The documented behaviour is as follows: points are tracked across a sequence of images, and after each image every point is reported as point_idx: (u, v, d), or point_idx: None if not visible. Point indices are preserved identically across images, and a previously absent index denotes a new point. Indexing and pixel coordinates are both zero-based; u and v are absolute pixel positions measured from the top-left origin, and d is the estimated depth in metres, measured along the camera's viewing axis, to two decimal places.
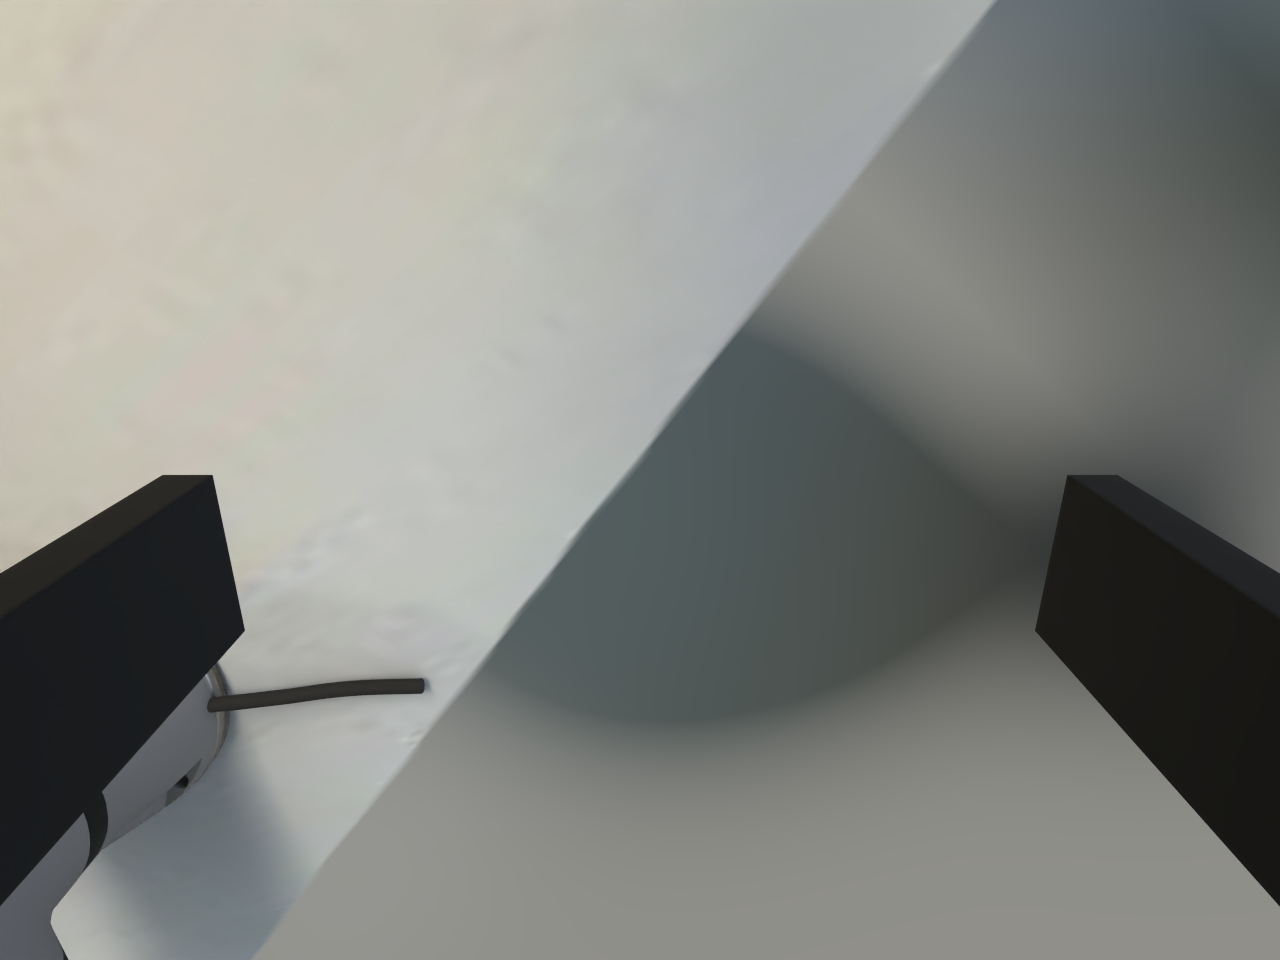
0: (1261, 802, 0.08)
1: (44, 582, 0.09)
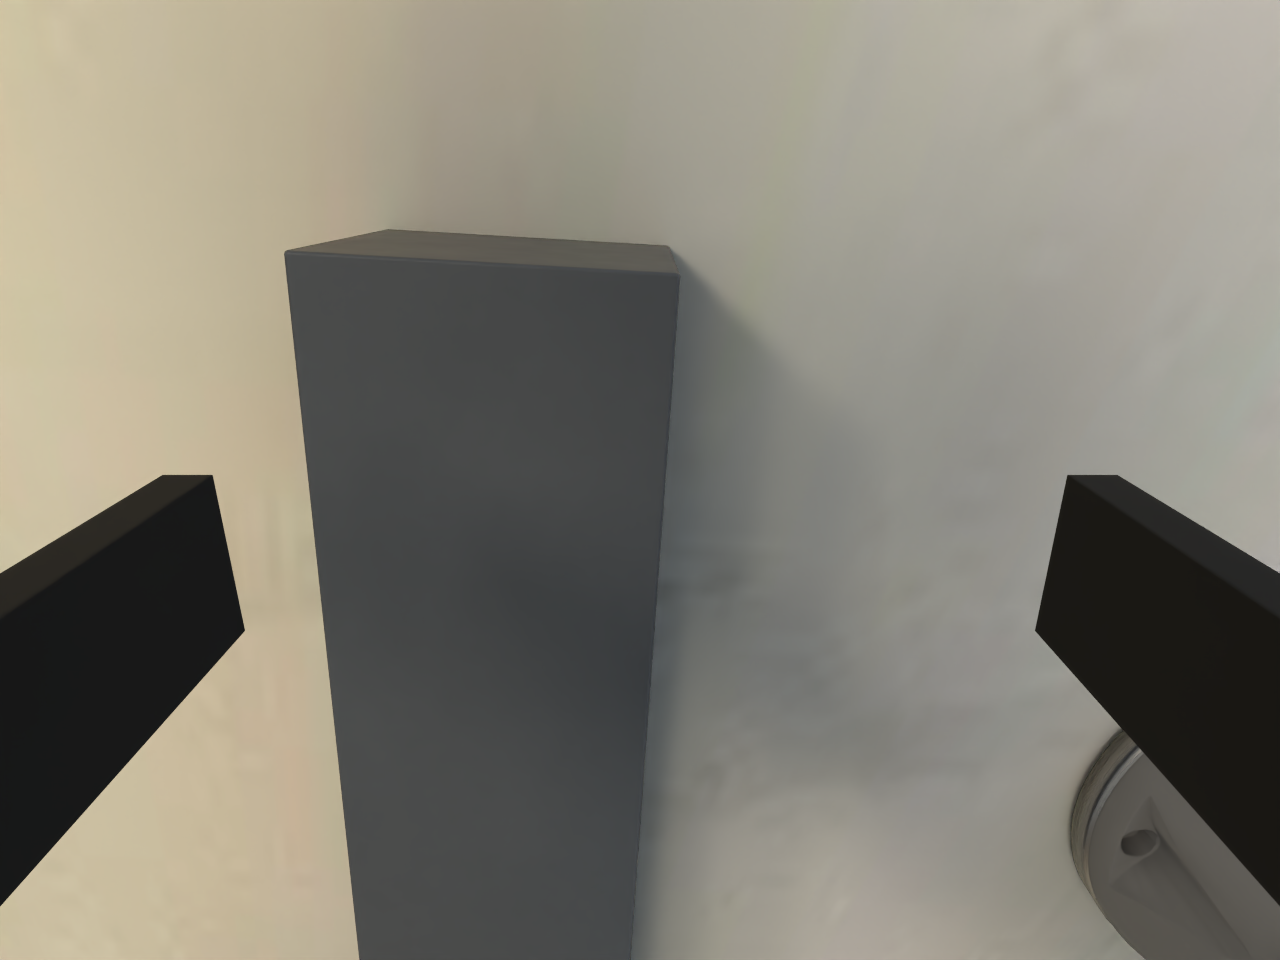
0: (1262, 802, 0.08)
1: (44, 582, 0.09)
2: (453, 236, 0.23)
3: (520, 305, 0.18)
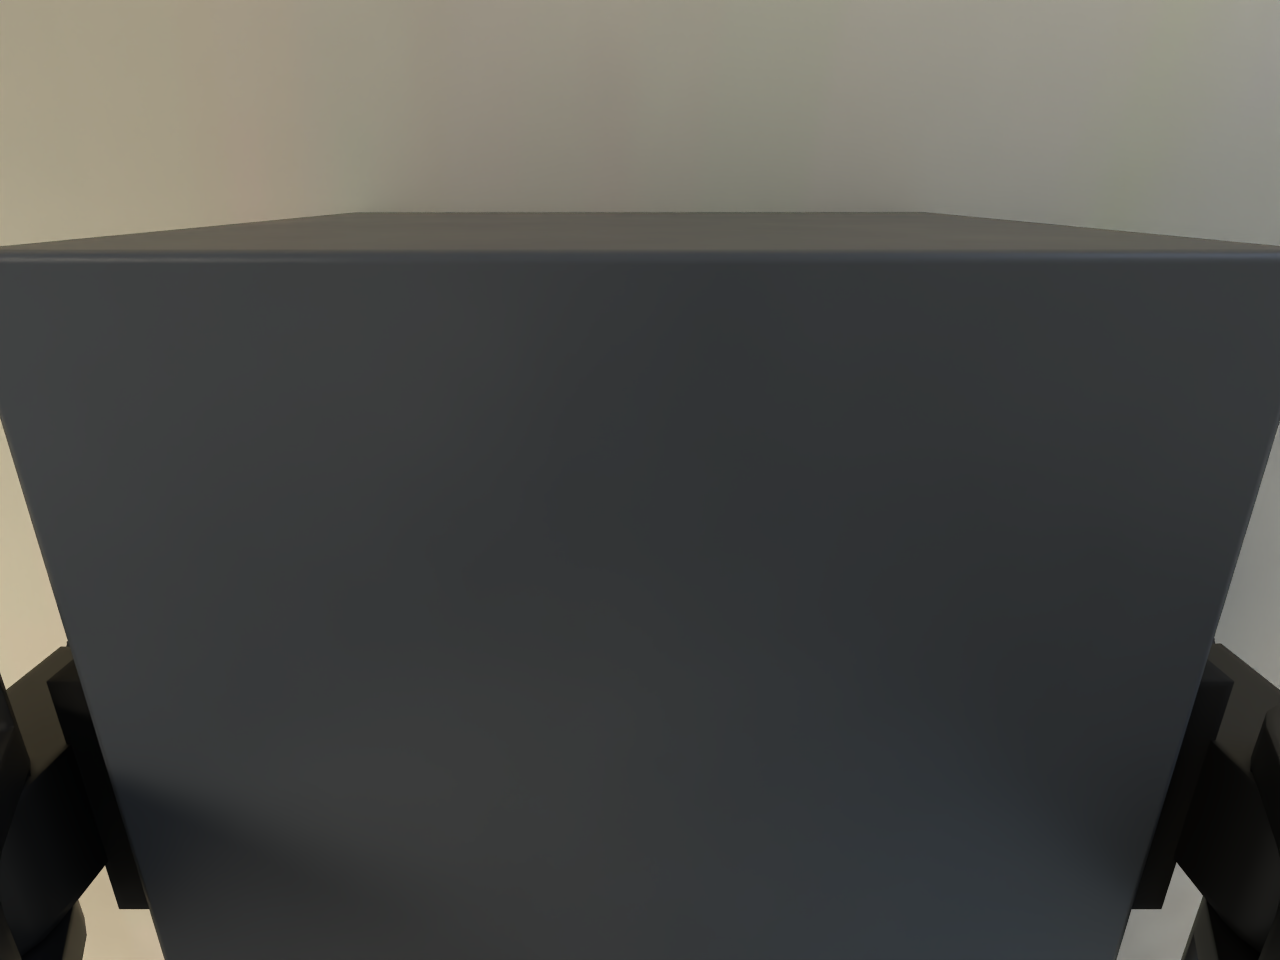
0: None
1: None
2: (492, 215, 0.11)
3: (764, 392, 0.05)
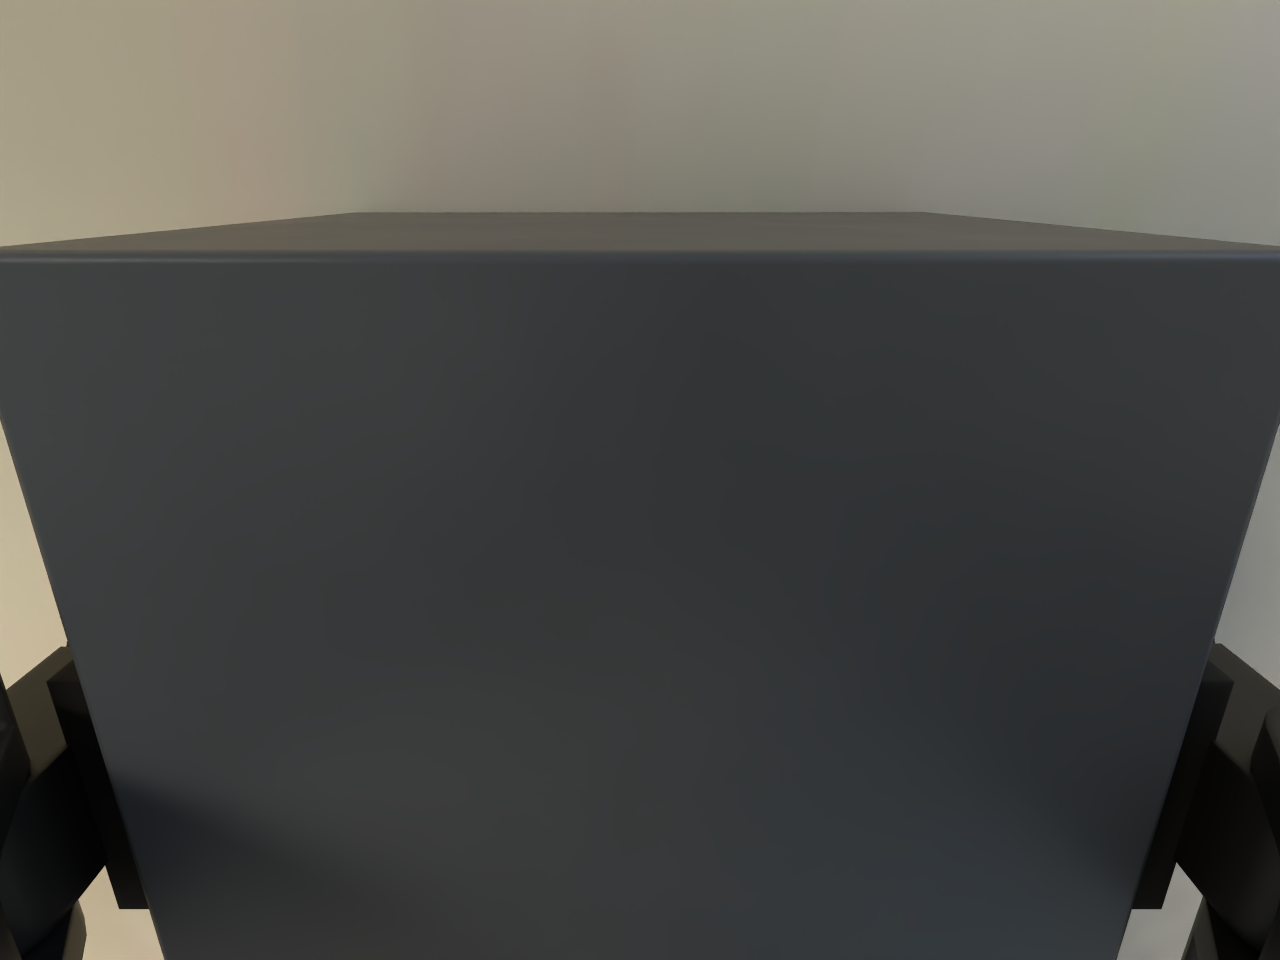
0: None
1: None
2: (491, 215, 0.11)
3: (764, 392, 0.05)
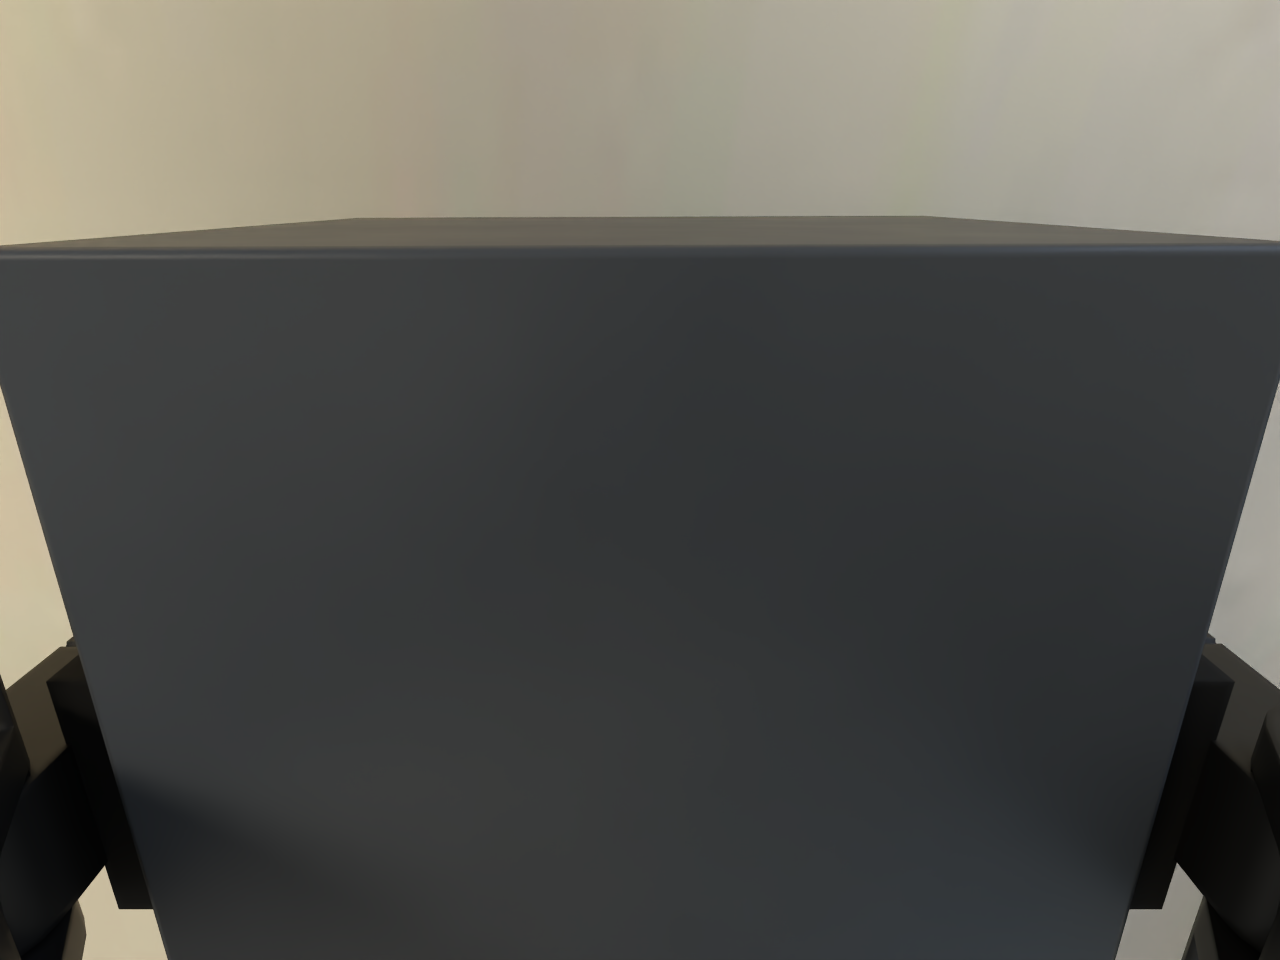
0: None
1: None
2: (493, 219, 0.11)
3: (761, 384, 0.05)
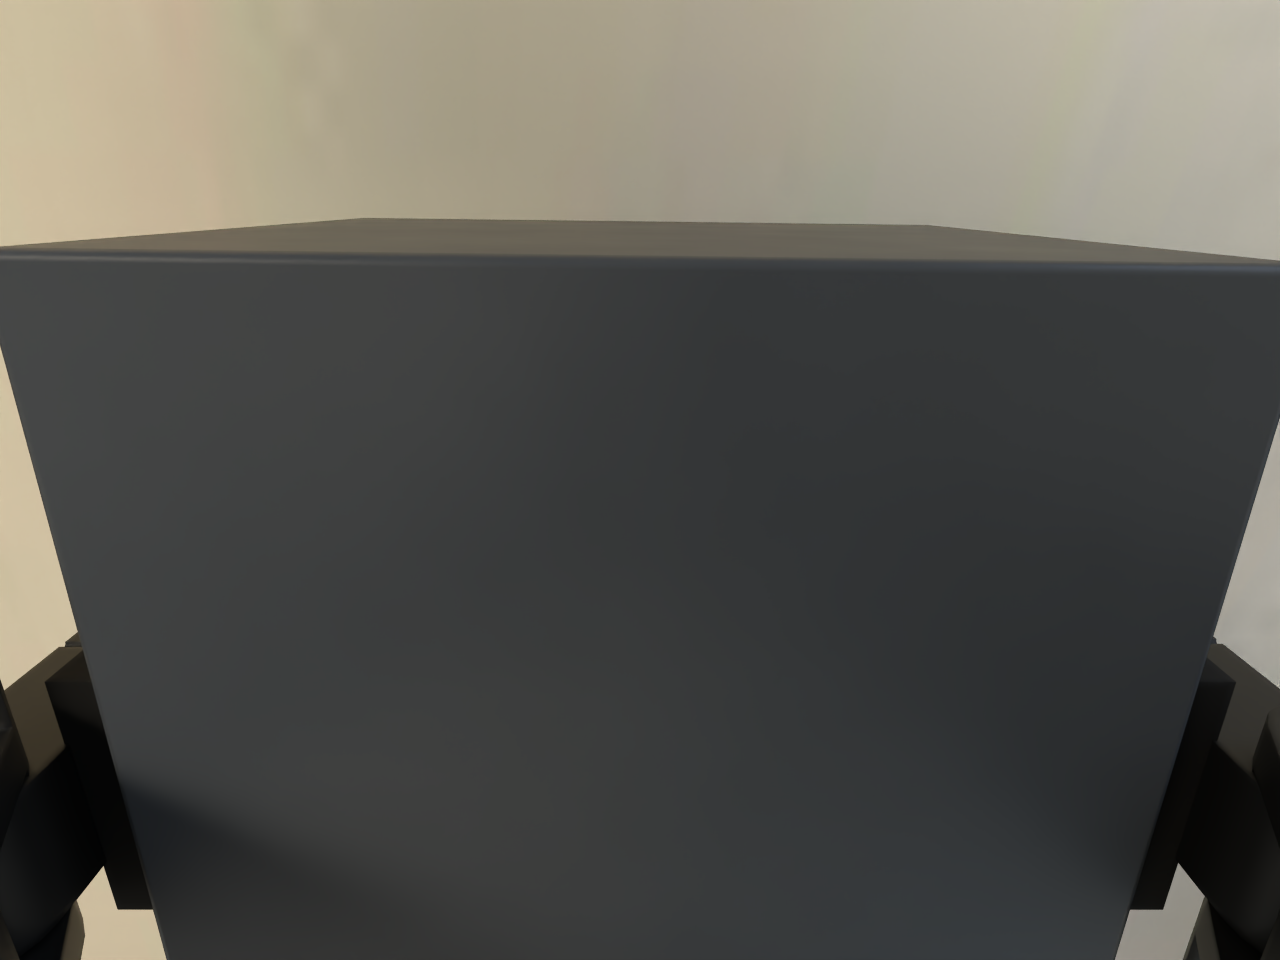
0: None
1: None
2: (499, 222, 0.11)
3: (772, 396, 0.05)
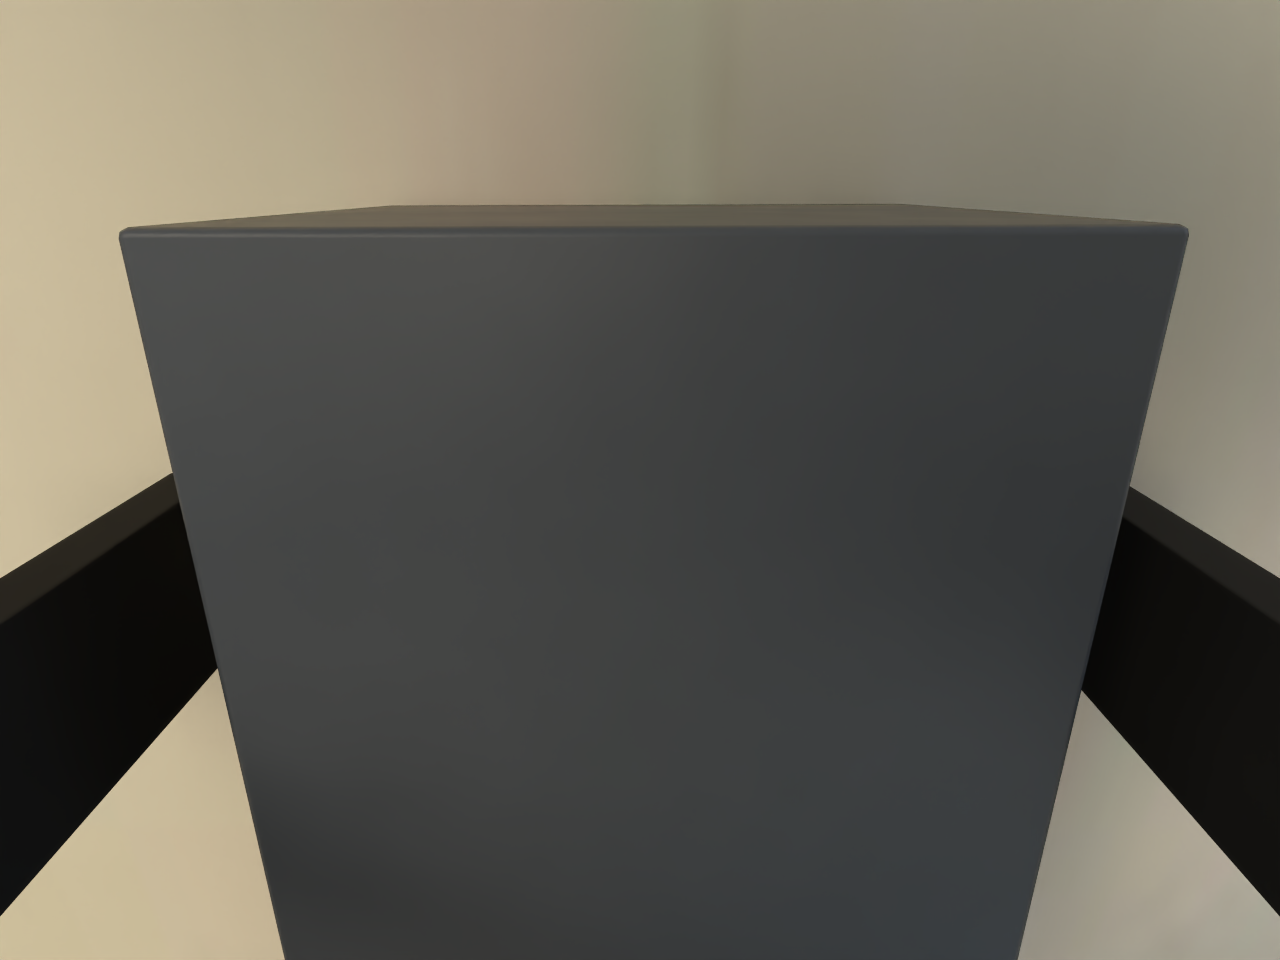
0: (1248, 796, 0.08)
1: (57, 579, 0.09)
2: None
3: (751, 338, 0.07)
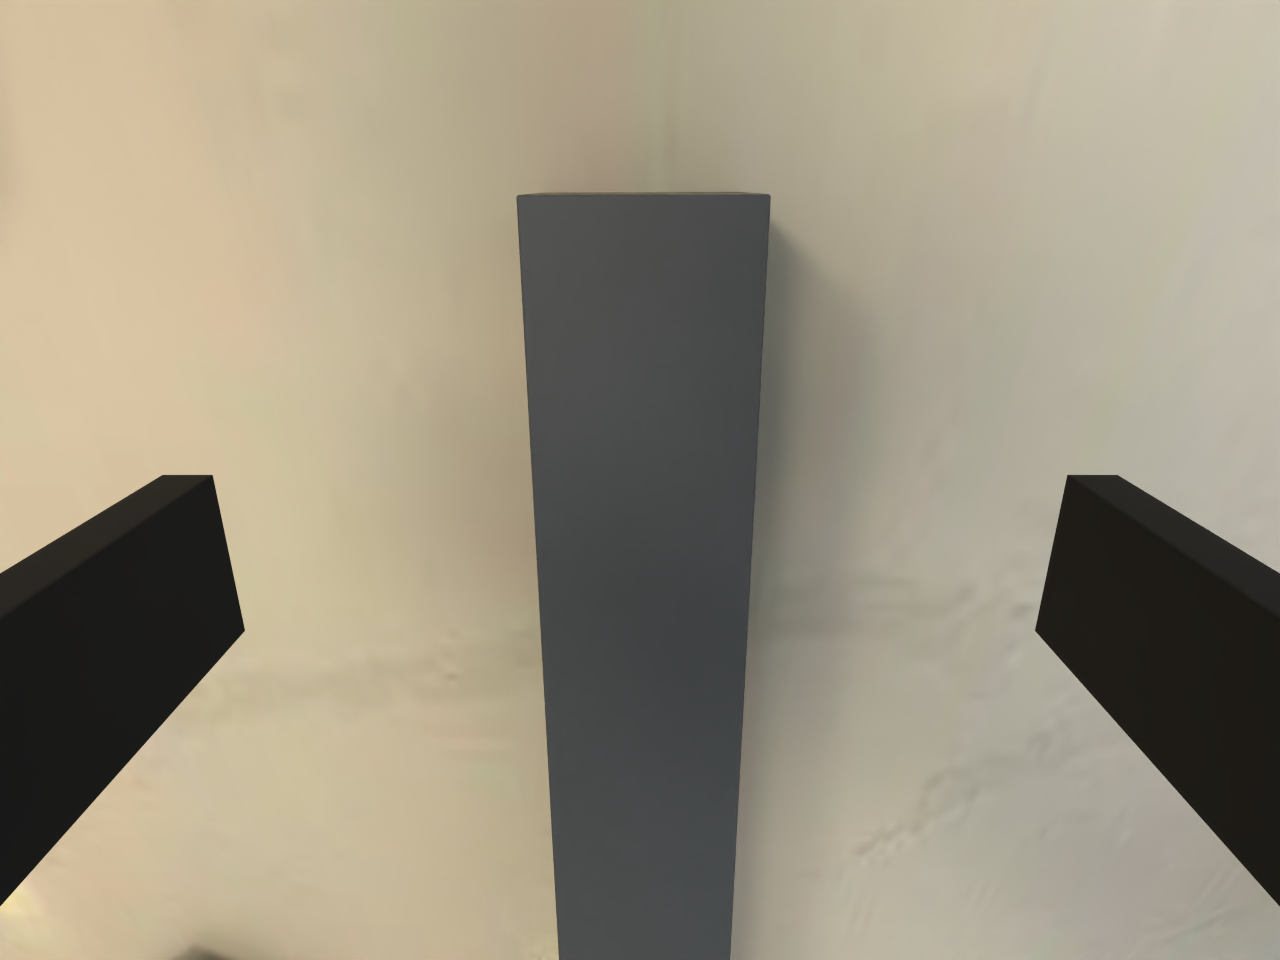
0: (1262, 802, 0.08)
1: (44, 582, 0.09)
2: None
3: (667, 222, 0.28)
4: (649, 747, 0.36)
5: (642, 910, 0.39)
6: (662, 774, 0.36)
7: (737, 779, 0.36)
